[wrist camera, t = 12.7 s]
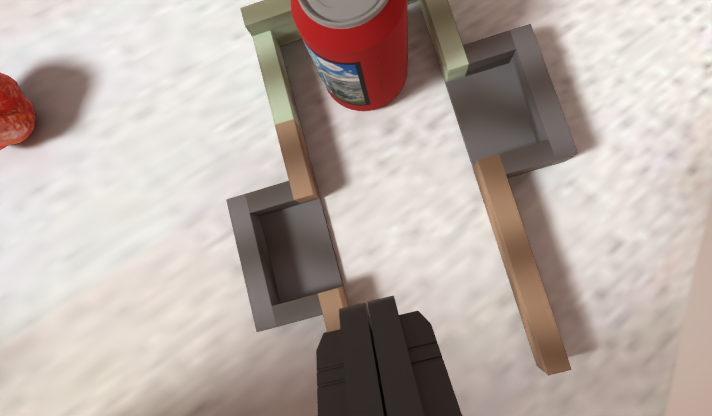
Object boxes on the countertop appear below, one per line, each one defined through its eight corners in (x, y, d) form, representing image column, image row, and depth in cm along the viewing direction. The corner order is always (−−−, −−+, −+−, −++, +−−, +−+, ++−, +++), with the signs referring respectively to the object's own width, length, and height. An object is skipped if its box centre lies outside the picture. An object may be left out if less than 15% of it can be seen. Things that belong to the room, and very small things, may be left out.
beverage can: (310, 61, 35) (260, -41, 23) (382, 20, 34) (369, -104, 23) (348, 130, 34) (316, 60, 22) (423, 88, 33) (431, -5, 21)
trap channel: (629, 342, 29) (663, 356, 25) (291, 426, 31) (274, 450, 28) (491, -42, 34) (502, -82, 30) (204, 54, 36) (179, 29, 32)
